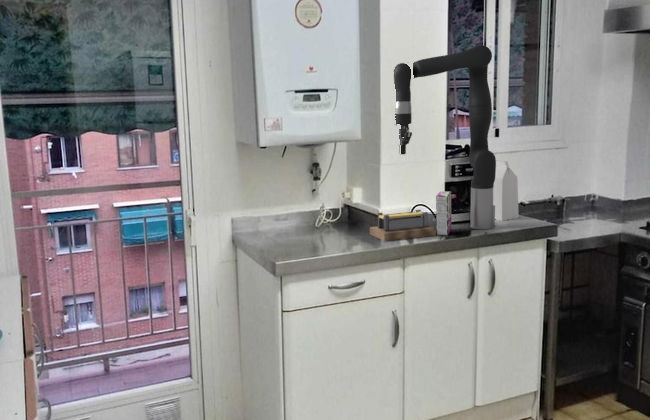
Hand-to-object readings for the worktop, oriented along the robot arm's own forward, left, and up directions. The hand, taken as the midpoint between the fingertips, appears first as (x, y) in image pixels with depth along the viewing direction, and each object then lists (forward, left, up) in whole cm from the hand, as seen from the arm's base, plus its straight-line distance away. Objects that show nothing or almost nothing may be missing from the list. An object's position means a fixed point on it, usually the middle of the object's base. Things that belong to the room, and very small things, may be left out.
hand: (402, 154), depth 255 cm
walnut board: (+6, +11, -32) cm, 34 cm away
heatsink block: (+6, +11, -29) cm, 32 cm away
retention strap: (+6, +11, -25) cm, 28 cm away
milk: (-50, -1, -32) cm, 60 cm away
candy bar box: (-11, +15, -32) cm, 37 cm away
